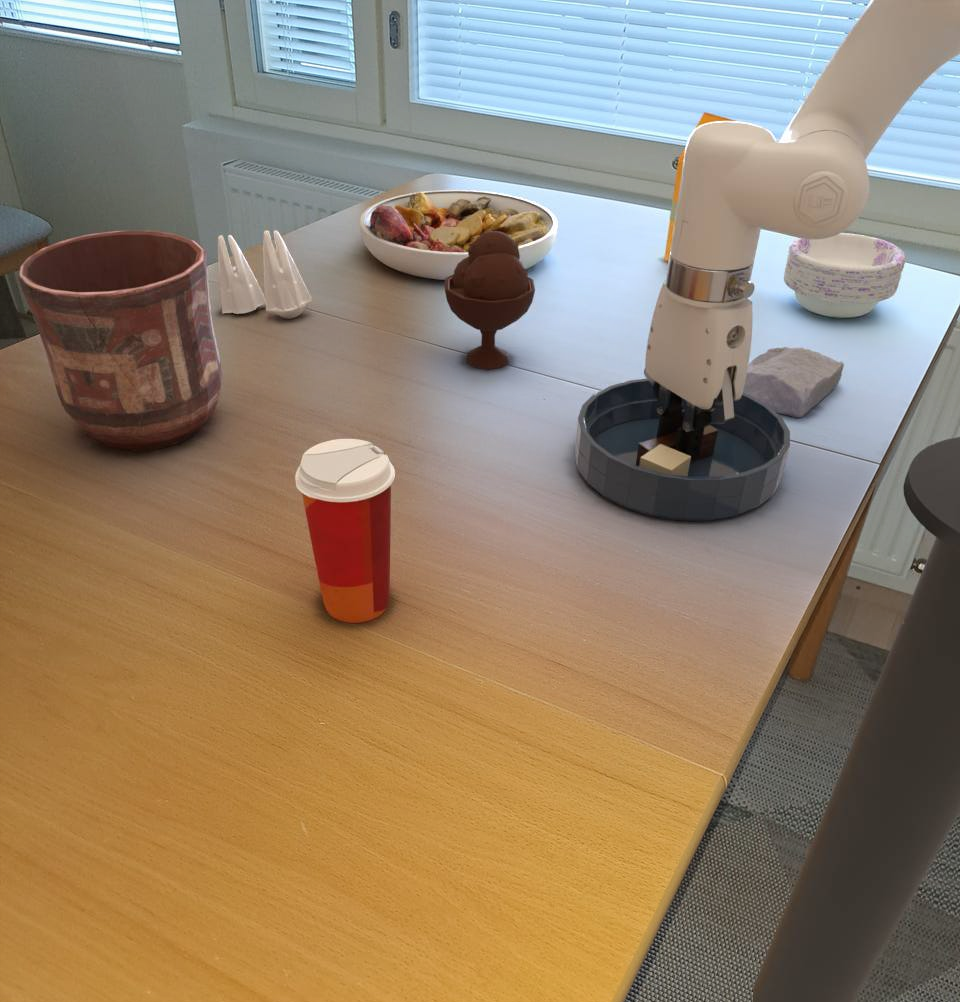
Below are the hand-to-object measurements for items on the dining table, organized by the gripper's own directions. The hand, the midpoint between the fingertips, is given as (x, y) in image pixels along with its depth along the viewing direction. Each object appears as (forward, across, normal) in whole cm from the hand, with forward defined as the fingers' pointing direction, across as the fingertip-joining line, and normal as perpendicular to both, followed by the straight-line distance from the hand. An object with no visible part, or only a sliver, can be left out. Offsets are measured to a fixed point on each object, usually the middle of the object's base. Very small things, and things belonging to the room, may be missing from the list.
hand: (676, 453), depth 98 cm
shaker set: (+2, +58, +22) cm, 63 cm away
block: (+1, -3, +5) cm, 6 cm away
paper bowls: (+2, +23, -48) cm, 53 cm away
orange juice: (+2, +45, -43) cm, 62 cm away
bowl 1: (+2, +66, -13) cm, 68 cm away
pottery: (+2, +36, +45) cm, 57 cm away
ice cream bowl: (+2, +32, +4) cm, 32 cm away
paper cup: (+2, -4, +39) cm, 39 cm away
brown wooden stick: (+1, 0, 0) cm, 1 cm away
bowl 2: (+2, 0, 0) cm, 2 cm away
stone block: (+2, +7, -23) cm, 24 cm away
